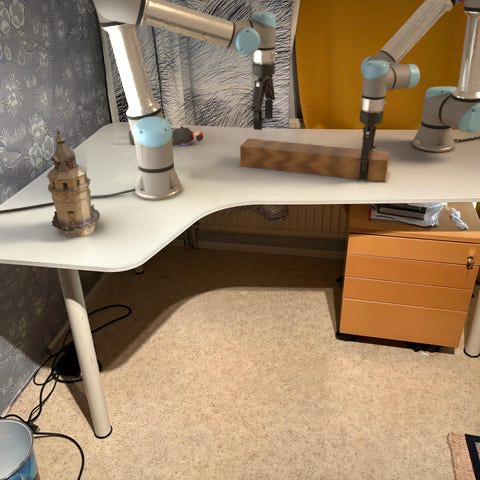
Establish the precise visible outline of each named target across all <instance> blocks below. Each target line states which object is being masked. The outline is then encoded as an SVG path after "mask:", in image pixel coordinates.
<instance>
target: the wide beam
mask: <svg viewBox="0 0 480 480" xmlns="http://www.w3.org/2000/svg"><path fill="white" fill-rule="evenodd" d="M239 147H240V148H239V152H240V154H239V155H240V156H239V157H240V162H239V165H240V167H246V168H255V169H264V170H273V171H282V172H290V173H299V174H307V175H308V174H309V175H318V176H325V177H335V178H344V179H353V180H361V181H370V182H379V183H386V181H387V176H388V173H389V167H390V166H389V165H390V158H391V152H390V151H383V150H382V151H381V150H373V149H371V150H370V154H369V167H368V176H367V180H366V179H359V172H360V163H361V161H359V159H361V152H362V148H361V149H360V148H350V147H341V146H329V145H321V144H320V145H319V144H309V143H299V142H289V141H279V140H269V139H257V138H246V140H244V141H243V142H242V143H241V144H240V146H239ZM372 150H373V151H372ZM363 158H364V157H363Z"/></svg>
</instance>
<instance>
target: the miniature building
mask: <svg viewBox="0 0 480 480" xmlns="http://www.w3.org/2000/svg"><path fill="white" fill-rule="evenodd" d="M56 134H57V136H56V138H55V140H54V141H55V142H56V147H55V154H54V156H52V157H51V161H52V162H53V165H54V167H53V168H51V169H50V170H49V171H48V173H47V174H46V178H47V179H48V182H49V184H48V186H47V190H48V191H49V193H50V194H51V200H52V201H53V202H54V205H53V206H54V209H55V211H53V217H52V220H51V223H52V225H51V227H54V228H56V229H58V230H59V231H60V234H63V235H64V234H65V235H66V236H69V237H77V236H80V237H83V236H87V235H88V234H90V233H93V232H94V231H95V229H96V226H97V225H98V223H99V220H100V216H101V213H100V212H99V210H98V209H96V208H95V204H92V201H91V200H92V198H91V197H90V196H91V192H92V191H91V188H90V184H91V178H89V177H88V174H87V167H85V166H84V165H83V166H82V165H80V164H77V160H76V154H75V151H74V150H70V149H69V147H68V145H67V143H66V138H65V137H64V136H63V135H61V130H60V129H56Z"/></svg>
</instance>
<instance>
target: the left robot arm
mask: <svg viewBox="0 0 480 480" xmlns="http://www.w3.org/2000/svg"><path fill="white" fill-rule="evenodd" d="M92 2H93V4H94V8H95V11H96V14H97V18H98V21H99V24H100V27H101V28H102V29H103V30H104V31H106V32H107V34H108V37H109V41H110V44H111V48H112V52H113V55H114V59H115V63H116V66H117V69H118V73H119V75H120V76H119V77H120V80H121V82H122V87H123V90H124V93H125V97H126V101H127V105H128V108H127V110H126V112H125V113H126V117H127V122H128V124H129V128H130V129H129V130H130V131H131V133H132V135H133V139H134V142H135V143H134V146H135V154H136V161H137V175H136V179H135V184H134V188H132V189H126V190H122V191H119V192H118V191H117V192H115V193H110V194H109V193H108V194H97V195H90V197H91V199H101V198H103V199H104V198H111V197H116V196H117V197H118V196H120V195H123V194H128V193H132V192H133V193H135V195H136V196H137V197H138V198H141V199H143V200H148V201H161V200H168V199H171V198H174V197H176V196H178V195H179V194H180V193H181V192H182V183H181V180H180V177H179V176H178V173H177V171H176V169H175V161H174V160H175V159H174V158H175V157H174V146H172V129H171V128H172V126H171V123H170V122H169V120H167V119H165V118H164V114H163V110H162V106H161V104H160V103H159V102H157V101H155V98H154V97H155V96H154V93H153V90H152V85H151V81H150V77H149V74H148V70H147V66H146V62H145V58H144V55H143V51H142V47H141V43H140V39H139V36H138V35H139V34H138V31H137V28H136V26H137V27H142V26H144V25H146V26H151V27H154V28H158V29H161V30H165V31H168V32H172V33H175V34H177V35H178V34H179V35H182V36H185V37H189V38H192V39H196V40H200V41H202V42H207V43H209V44H214V45H216V46H220V47H223V48H227V49H230V50H233V51H234V50H235V51H237V52H239V53H240V54H242V55H252V62H253V63H252V74H253V75H255V76H257V80H254V81H253V83H254V88H253V95H252V102H251V108H250V111H251V112H253V130H255V131H256V130H257V131H262V130H263V110H262V107H263V102H264V119H269V120H272V119H273V117H274V116H273V115H274V114H273V111H274V105H273V104H274V101H276V97H275V96H276V94H275V87H274V77H273V75H275V73H276V63H275V61H276V56H277V54H278V53H277V52H276V32H277V21H276V20H277V19H276V15H275V13H273V12H270V11H258V12H254V13H252V18H251V19H247V20H246V19H245V20H228V19H225V18H221V17H218V16H216V15H212V14H210V13H206V12H203V11H199V10H197V9H193V8H189V7H187V6H183V5H180V4H178V3H174V2H170V1H167V0H92ZM264 98H265V100H264ZM49 206H55V205H54V201H53V202H47V203H41V204H40V203H39V204H33V205H27V206H22V207H15V208H8V209H2V210H0V214H4V213H11V212H19V211H24V210H30V209H37V208H42V207H49Z"/></svg>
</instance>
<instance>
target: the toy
mask: <svg viewBox="0 0 480 480" xmlns="http://www.w3.org/2000/svg"><path fill="white" fill-rule="evenodd" d="M171 129H172V146H173V147H175V146H178V145H182V146H188V145H191V143H193V142H194V141H195V142H201V141H202V140H203V139H204V133H203V131H200V130H194V131H192V130H191V129H190V128H189V127H184V126H183V125H179V126H178V127H171ZM128 140H129V144H130V145H135V142H134V139H133V135H132V133H131V130H129V131H128Z"/></svg>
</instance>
